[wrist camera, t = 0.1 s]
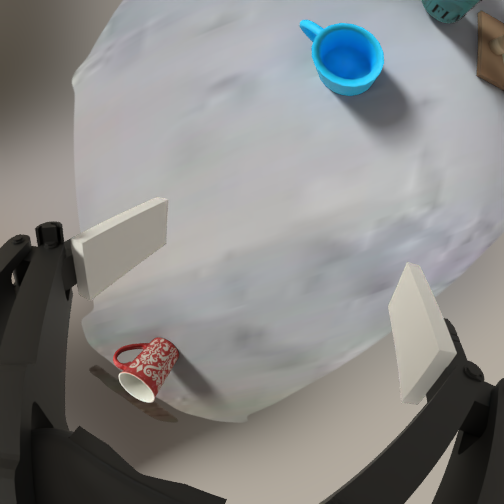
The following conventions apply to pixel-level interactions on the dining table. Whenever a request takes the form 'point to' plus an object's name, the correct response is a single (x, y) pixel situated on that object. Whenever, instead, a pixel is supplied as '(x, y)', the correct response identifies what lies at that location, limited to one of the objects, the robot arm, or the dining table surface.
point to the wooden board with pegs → (490, 50)
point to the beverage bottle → (448, 9)
